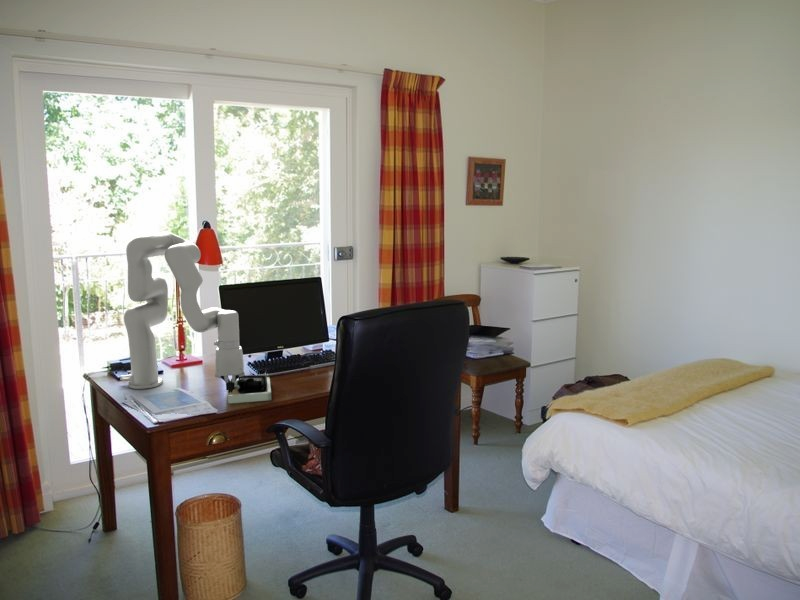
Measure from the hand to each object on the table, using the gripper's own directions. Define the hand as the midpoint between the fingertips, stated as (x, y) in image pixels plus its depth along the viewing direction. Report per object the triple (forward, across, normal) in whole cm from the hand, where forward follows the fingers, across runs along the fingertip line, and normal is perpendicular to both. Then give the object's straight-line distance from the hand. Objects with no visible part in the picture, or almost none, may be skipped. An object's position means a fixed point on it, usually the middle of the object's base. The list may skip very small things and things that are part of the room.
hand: (230, 391), depth 243 cm
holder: (+1, +6, 0) cm, 6 cm away
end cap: (+1, +8, 0) cm, 8 cm away
